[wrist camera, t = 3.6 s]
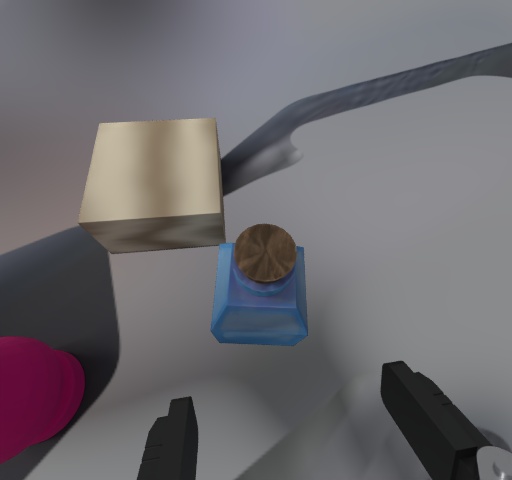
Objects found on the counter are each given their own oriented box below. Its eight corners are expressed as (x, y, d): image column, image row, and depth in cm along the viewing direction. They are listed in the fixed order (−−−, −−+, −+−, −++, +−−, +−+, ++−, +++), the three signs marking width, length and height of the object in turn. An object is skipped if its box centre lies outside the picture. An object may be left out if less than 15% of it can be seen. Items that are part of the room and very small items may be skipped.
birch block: (111, 254, 27) (77, 222, 21) (124, 166, 32) (99, 123, 26) (225, 245, 27) (220, 212, 22) (220, 161, 32) (215, 117, 27)
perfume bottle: (225, 272, 26) (210, 197, 15) (291, 275, 26) (322, 202, 15) (219, 342, 23) (194, 311, 12) (293, 345, 23) (333, 316, 12)
